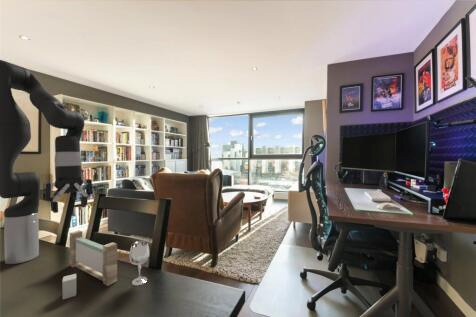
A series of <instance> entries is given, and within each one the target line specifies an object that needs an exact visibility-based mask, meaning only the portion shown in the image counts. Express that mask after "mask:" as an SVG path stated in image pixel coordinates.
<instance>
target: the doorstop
mask: <svg viewBox="0 0 476 317" xmlns="http://www.w3.org/2000/svg"><path fill="white" fill-rule="evenodd" d="M61 283H62V285H61V287H62V289H61V290H62V300H67V299H69V298H73V297H76V296H77V273H73V274H70V275H65V276H63V278H62V282H61Z"/></svg>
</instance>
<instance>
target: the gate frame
mask: <svg viewBox="0 0 476 317" xmlns="http://www.w3.org/2000/svg"><path fill="white" fill-rule="evenodd" d="M80 237H82V238H83V231H82V230H76V231H72V232H69V266H70V267H71V268H77V269H79V270H81V271H83V272H84V273H87V274H89V276H90V275H91V276H93V277H94V278H97V280H100V281H102V282H103V283H102V284H103V285H105V286H107V287H109V286H111V285H112V284H114V283H116V282H118V244H117V243H115V242H110V243H107V244H105V245H104V244H103V275H102V274H101V273H99V272H97V271H95V270H93V269H91V268H89V267H87V266H85V265H83V264H81V263H79V262H76V238H80Z"/></svg>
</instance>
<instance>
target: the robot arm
mask: <svg viewBox="0 0 476 317" xmlns="http://www.w3.org/2000/svg"><path fill="white" fill-rule="evenodd" d="M12 89H14V90H17V91H21V92H24V93H27V95H28V94H29V96H28V97H29V100H30V102H31V105H33V107H35V108H36V109H37V110H38V111H40V112H41V113H42V114H43V116H44V118H45V120H46V122H47V123H48V125H50V126H51V127H54V128H56V129H60V130H61V129H62V130H67V132H66V134H64V135H59V136H56V137H55V139H54V152H55V153H54V176H55V177H54V179H55V181H54V182H44V183H43V185H42V186H43V187H42V200H43V201H45V202H49V203H50V211H51V212H53V214H56V213H59V201H58V200H59V199H60V198H61V197H62V196H63V194H70V193H77V194H78V195H79V196H81V197H80V207H81V208H86V207H87V206H88V196H91V195H93V194H94V191H93V182H92V179H91V178H87V179H83V173H82V172H83V171H82V168H83V167H82V163H83V162H82V157H81V145H80V144H81V143H80V142H81V139H82V134H83V131H84V128H85V117H84V116H83V115H82V113H80V112H79V111H74V110H70V109H66V108H65V105H64V104H63V103H62V102H61V101H60V100H59V99H58V98H56V97H55V96H54V95H53V94H52V93H50V91H49V90H47V89H46V88H45V87H44V86H43V84H42V83H41V82H40V81H39V79H37V77H36V76H35V75H34V74H33V73H32V71H30V70H29V69H27V68H25V67H22V66H20V65H18V64H15V63H11V62H8V61H7V60H2V59H0V198H1V199H12V198H13V199H14V198H20V197H21V198H22V197H23V198H22V199H21V200H20V201H19V202H17V203H14V204H13V205H9V206H8V207H6V208H4V211H3V222H4V224H3V226H4V227H3V230H4V233H3V234H4V236H3V237H4V264H6V265H15V264H21V263H26V262H28V261H31V260H33V259H36V258H37V257H39V255H40V254H39V253H40V250H39V249H40V248H39V244H40V242H39V240H40V239H39V236H40V232H39V227H40V226H39V207H40V192H41V181H40V176H39V174H38V173H37V172H35V171H33V172H32V171H25V172H14V165H15V163H16V160H17V158H18V157H19V156H20V154H21V153H22V152H23V151H24V149H25V148H27V145H28V144H29V143H30V142H31V140H32V132H31V131H32V130H31V122H30V120H29V118H28V117H27V114H25V112H24V110H22V108H20V106H19V104H18V103H17V101H16V100H15V99H14V96H13V93H12ZM83 185H84V186H85V189H83V187H82V186H83ZM54 188H56V190H55V191H54V193H53V195H52V196H51V193H52V191H51V190H53V189H54Z"/></svg>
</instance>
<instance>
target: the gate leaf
mask: <svg viewBox="0 0 476 317" xmlns="http://www.w3.org/2000/svg"><path fill="white" fill-rule="evenodd" d="M103 246H104V244H100V243H97V242H95V241H92V240H90V239H88V238H85V237H83V236H82V237H80V238H76V262H79V263H81V264H83V265H85V266H87V267H89V268H91V269H93V270H95V271H97V272H99V273H101V274H102V275H103Z"/></svg>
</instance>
